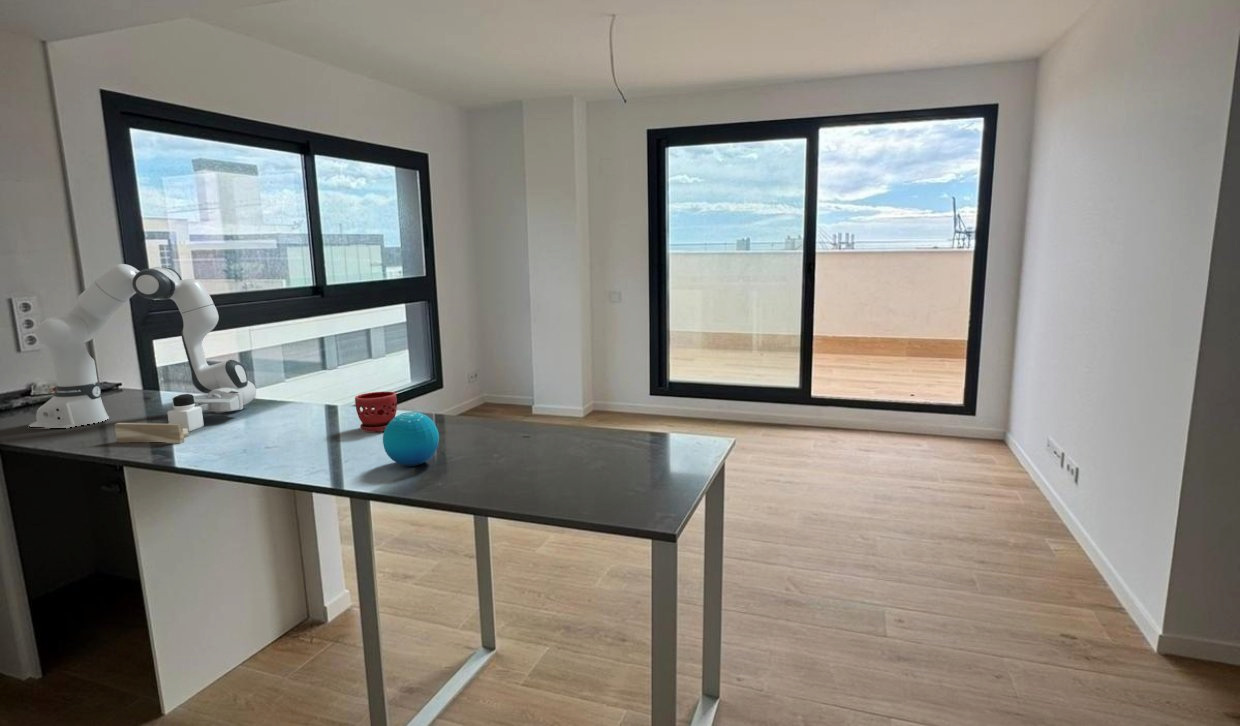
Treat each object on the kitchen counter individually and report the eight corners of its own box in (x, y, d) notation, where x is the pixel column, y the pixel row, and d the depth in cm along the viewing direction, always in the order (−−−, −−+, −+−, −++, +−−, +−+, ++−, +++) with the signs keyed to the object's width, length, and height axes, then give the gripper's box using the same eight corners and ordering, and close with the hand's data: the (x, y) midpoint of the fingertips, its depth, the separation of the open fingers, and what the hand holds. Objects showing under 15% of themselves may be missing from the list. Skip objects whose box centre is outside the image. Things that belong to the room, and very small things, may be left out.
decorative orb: (431, 453, 190) (428, 403, 187) (447, 466, 177) (444, 414, 175) (379, 462, 182) (375, 411, 179) (392, 477, 170) (387, 422, 167)
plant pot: (405, 424, 223) (403, 390, 221) (385, 434, 210) (383, 399, 208) (371, 423, 225) (368, 389, 223) (349, 433, 212) (346, 398, 210)
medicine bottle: (204, 426, 223) (200, 392, 221) (189, 432, 216) (184, 397, 214) (185, 426, 224) (180, 392, 222) (169, 431, 217) (164, 397, 215)
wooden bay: (138, 435, 213) (136, 417, 212) (199, 436, 211) (197, 418, 210) (117, 442, 205) (114, 424, 204) (180, 443, 203) (178, 425, 202)
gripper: (193, 391, 236) (163, 400, 223) (245, 392, 234) (218, 401, 221) (195, 408, 237) (165, 418, 224) (247, 409, 235) (220, 418, 222)
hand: (192, 409), depth 222 cm, fingers closed
